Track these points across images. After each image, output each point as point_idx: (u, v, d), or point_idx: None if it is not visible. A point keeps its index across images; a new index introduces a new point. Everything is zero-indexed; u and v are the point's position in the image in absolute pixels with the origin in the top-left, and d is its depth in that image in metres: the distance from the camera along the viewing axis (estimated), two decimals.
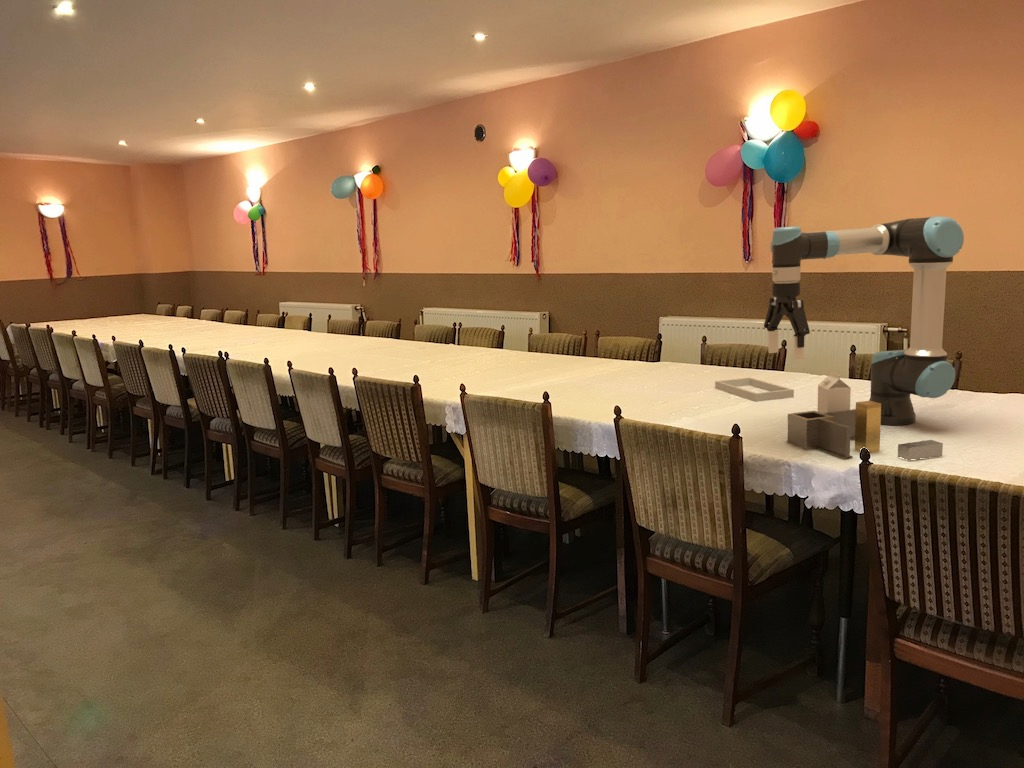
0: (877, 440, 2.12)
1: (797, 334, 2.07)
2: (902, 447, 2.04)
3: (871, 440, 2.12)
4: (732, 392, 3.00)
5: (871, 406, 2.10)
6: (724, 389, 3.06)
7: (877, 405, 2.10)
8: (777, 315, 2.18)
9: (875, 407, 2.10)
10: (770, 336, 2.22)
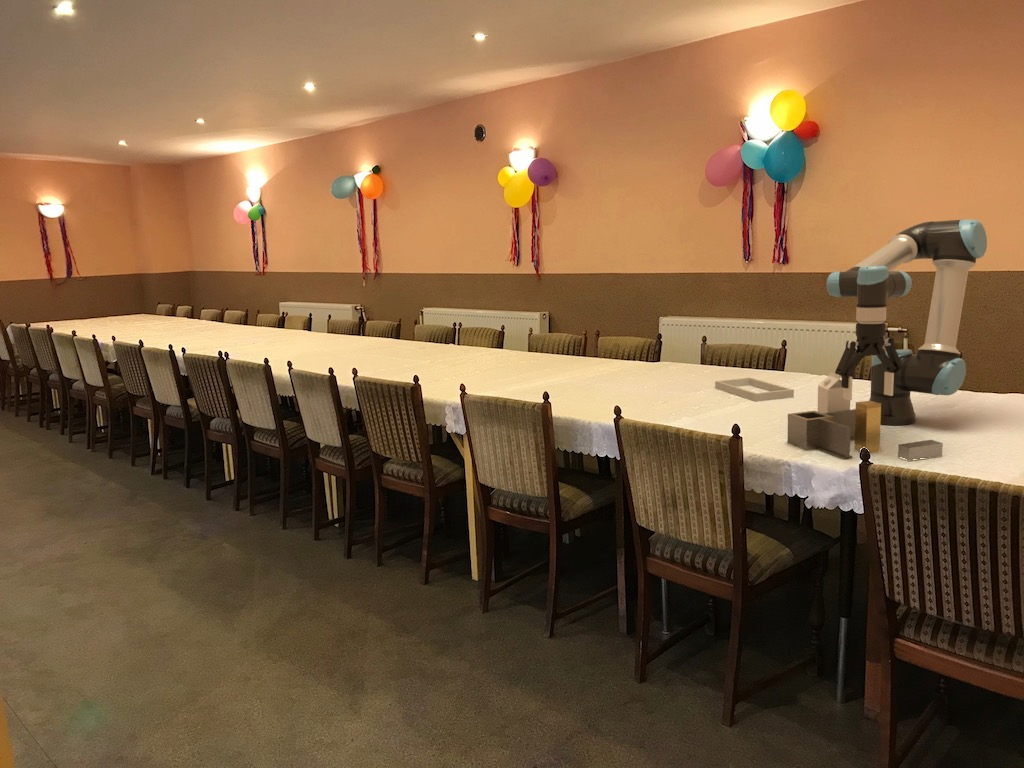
0: (877, 440, 2.12)
1: None
2: (902, 447, 2.04)
3: (871, 440, 2.12)
4: (732, 392, 3.00)
5: (871, 406, 2.10)
6: (724, 389, 3.06)
7: (877, 405, 2.10)
8: (876, 355, 2.11)
9: (875, 407, 2.10)
10: (885, 377, 2.13)
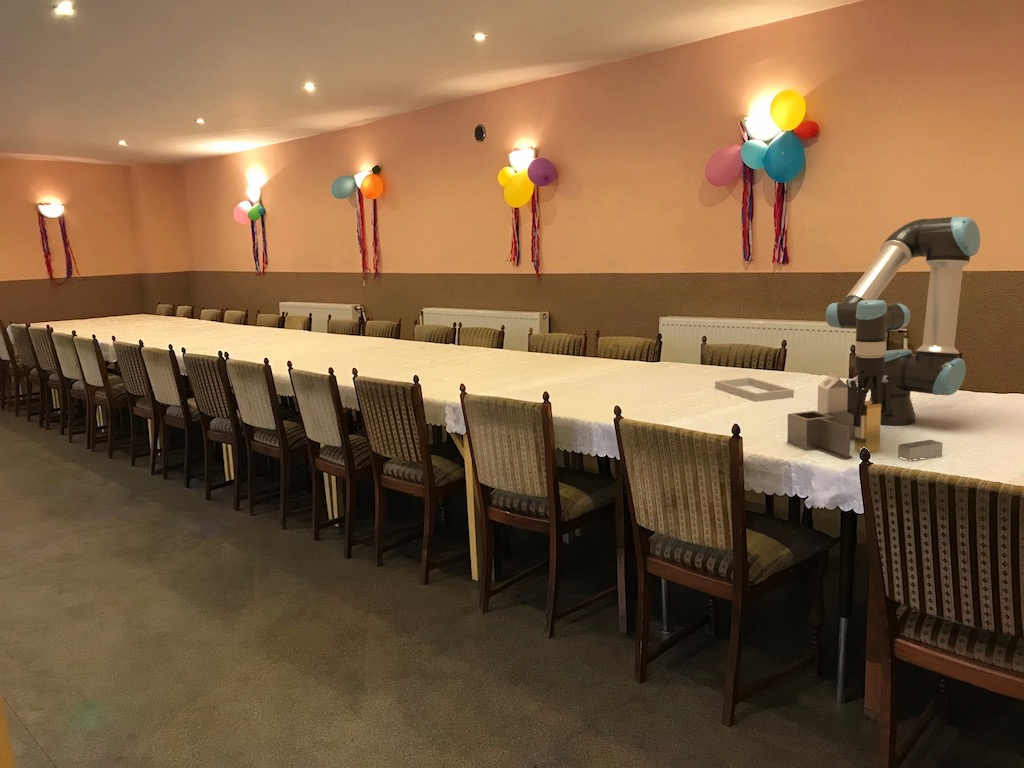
0: (877, 440, 2.12)
1: None
2: (902, 447, 2.04)
3: (871, 440, 2.12)
4: (732, 392, 3.00)
5: (871, 406, 2.10)
6: (724, 389, 3.06)
7: (877, 405, 2.10)
8: (871, 390, 2.13)
9: (875, 407, 2.10)
10: None
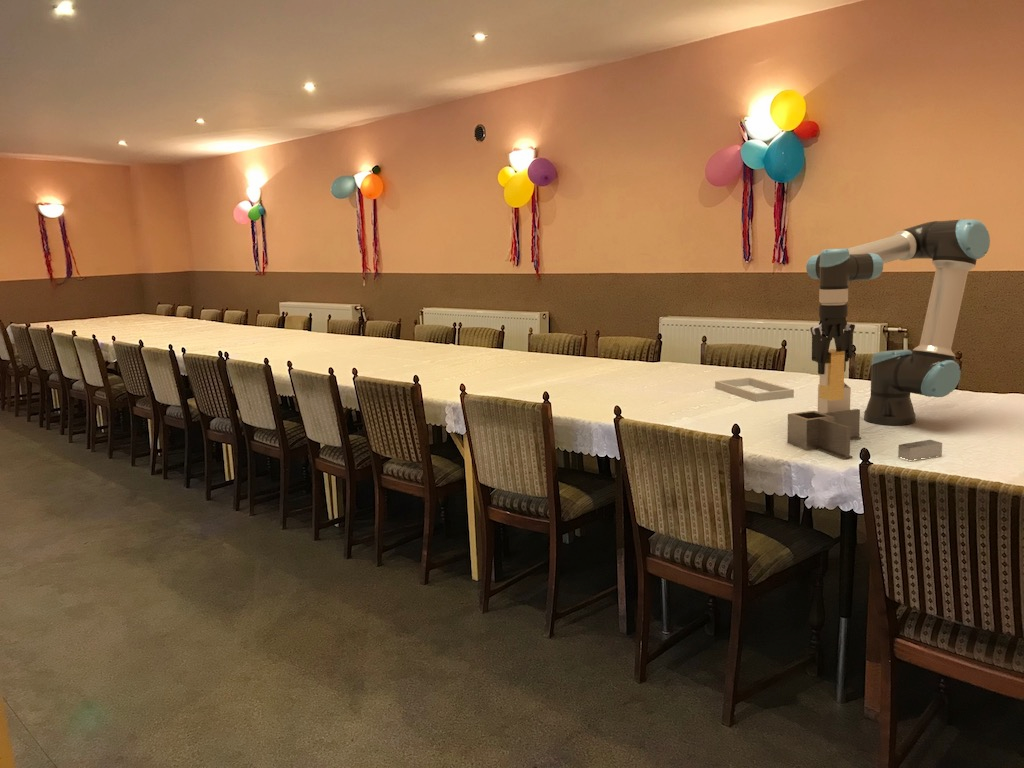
0: (841, 387, 2.15)
1: None
2: (903, 447, 2.04)
3: (835, 388, 2.15)
4: (732, 392, 3.00)
5: (835, 353, 2.13)
6: (724, 389, 3.06)
7: (841, 352, 2.13)
8: (834, 338, 2.16)
9: (839, 354, 2.13)
10: None
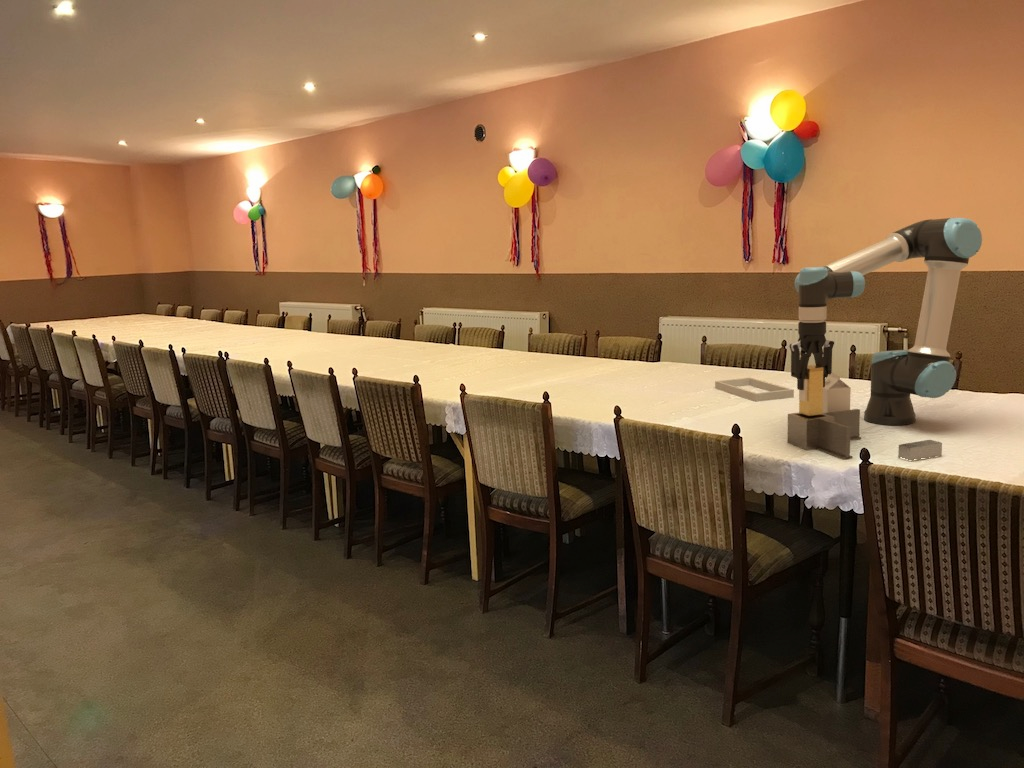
0: (820, 403, 2.20)
1: None
2: (903, 447, 2.04)
3: (813, 403, 2.19)
4: (732, 392, 3.00)
5: (813, 369, 2.17)
6: (724, 389, 3.06)
7: (819, 369, 2.18)
8: (814, 354, 2.20)
9: (817, 371, 2.18)
10: None
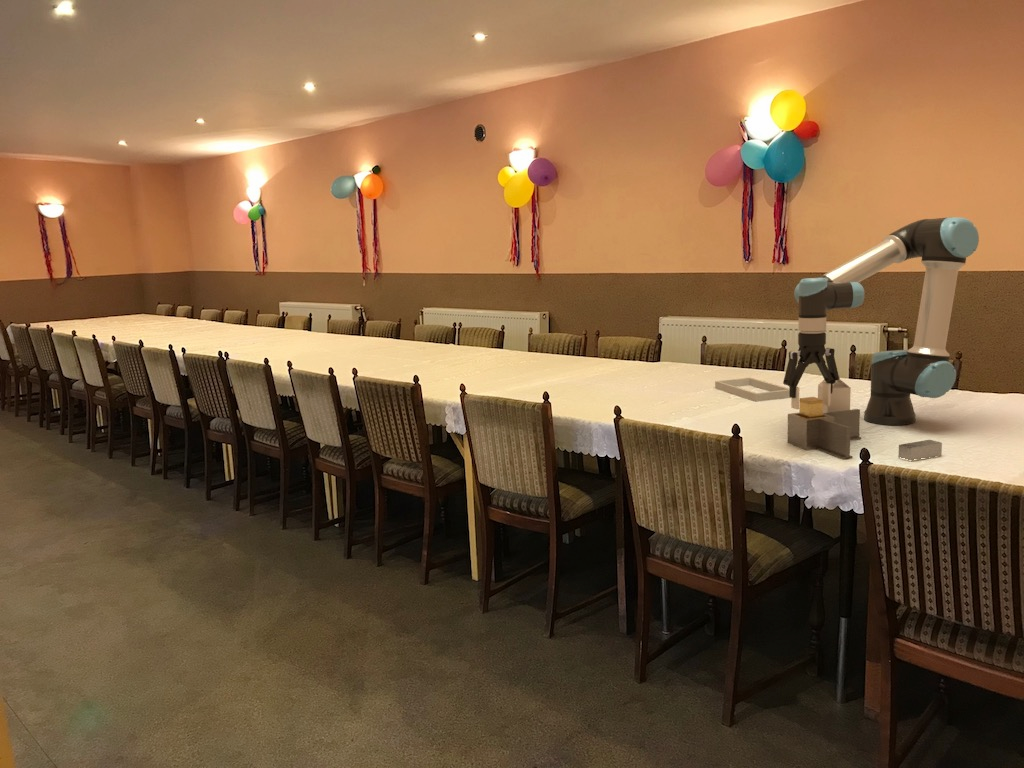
0: None
1: None
2: (903, 447, 2.04)
3: None
4: (732, 392, 3.00)
5: (813, 402, 2.19)
6: (724, 389, 3.06)
7: (819, 401, 2.19)
8: (817, 363, 2.21)
9: (817, 403, 2.19)
10: (823, 387, 2.23)
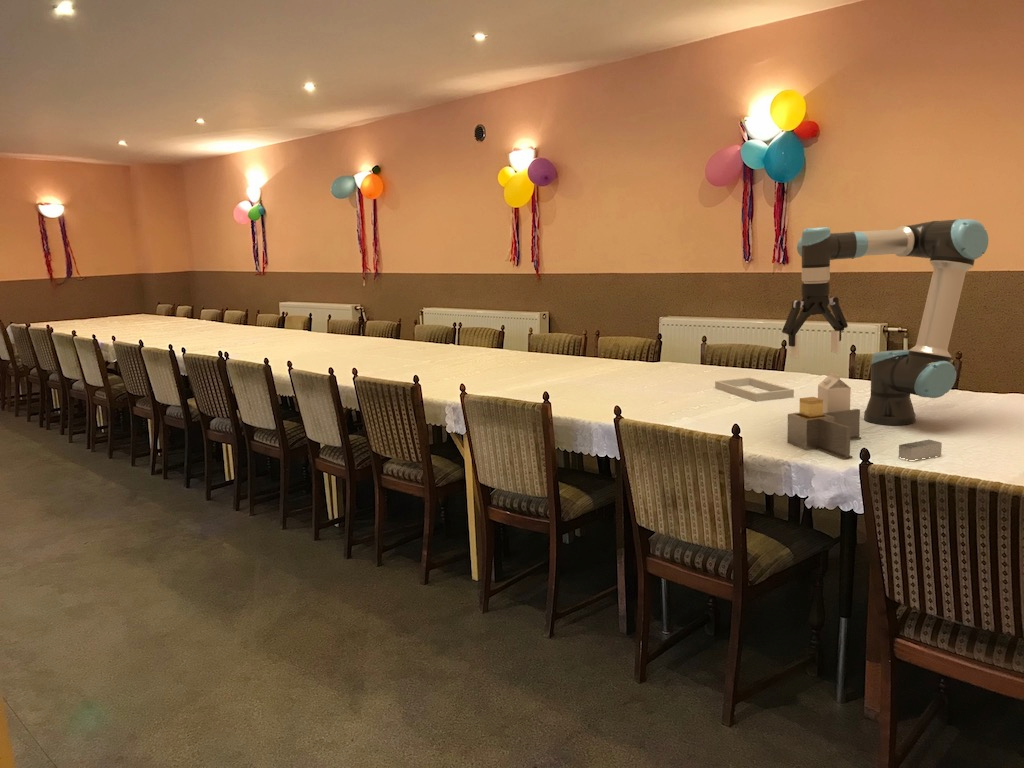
0: None
1: None
2: (903, 448, 2.04)
3: None
4: (732, 392, 3.00)
5: (813, 402, 2.19)
6: (724, 389, 3.06)
7: (819, 401, 2.19)
8: (822, 314, 2.19)
9: (817, 403, 2.19)
10: (831, 335, 2.21)
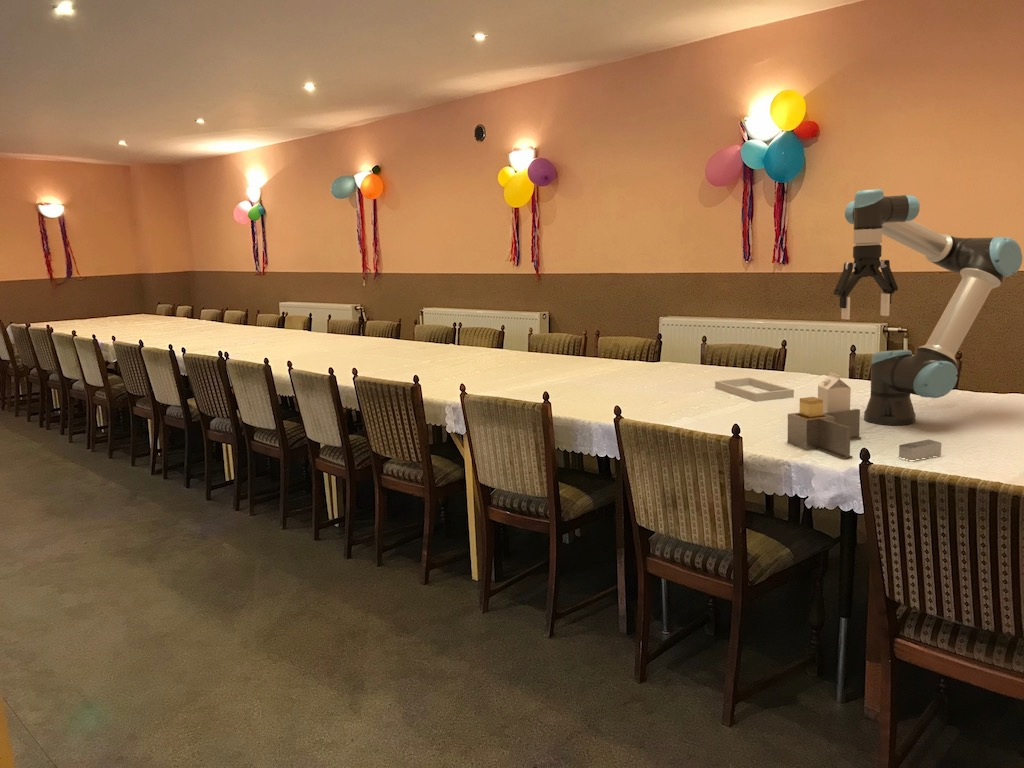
0: None
1: None
2: (904, 448, 2.04)
3: None
4: (732, 392, 3.00)
5: (813, 402, 2.19)
6: (724, 389, 3.06)
7: (819, 401, 2.19)
8: (873, 276, 2.21)
9: (817, 403, 2.19)
10: (881, 298, 2.23)
